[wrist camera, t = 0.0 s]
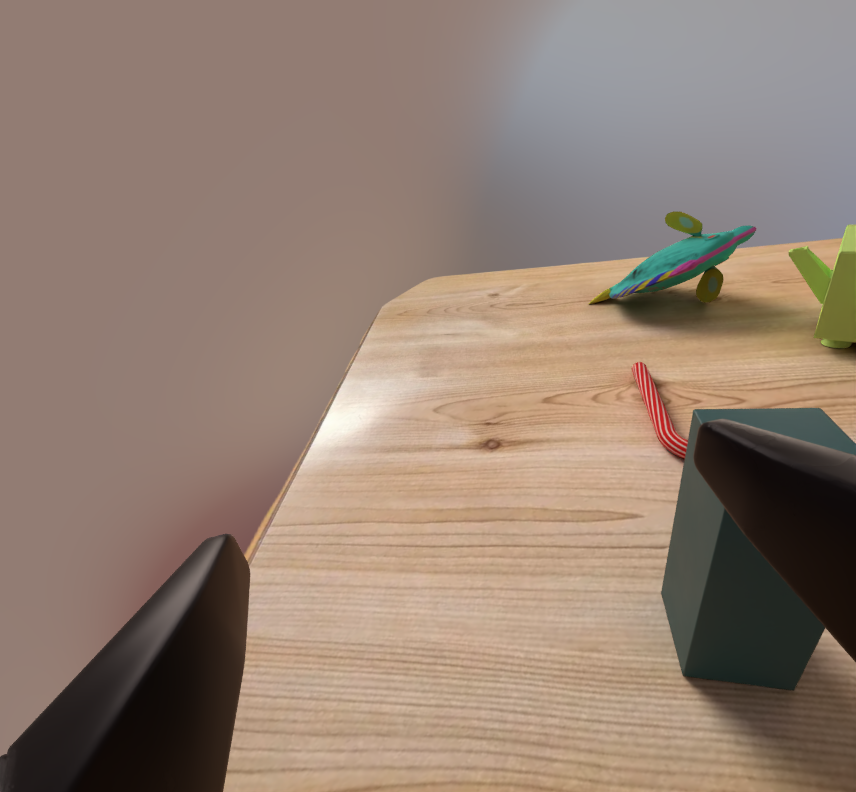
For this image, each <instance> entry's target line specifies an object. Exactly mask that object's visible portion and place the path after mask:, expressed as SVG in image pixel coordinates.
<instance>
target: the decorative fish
mask: <svg viewBox="0 0 856 792" xmlns="http://www.w3.org/2000/svg"><path fill="white" fill-rule="evenodd" d="M665 221H666V224H667V225H668V226H670V227H671V228H673V229H676V230H679V231H682V232H685V233H688V234H691V235H693V236H691V237H689V238H687V239H684V240H682V241H680V242H678V243H675V244H673V245H671V246H669V247H667V248H665V249H663V250H661V251H659V252H657V253H655V254H654V255H652V256H651V257H649V258H648V259H646V260H645V261H644V262H642V263H641V264H640V265H639V266H637V267H636V268H635V269H634V270H633V271H632V272H631V273H630V274H629V275H628V276H627V277H625V278H624V279H623V280H622V281H621V282H620V283H618V284H616V285H615V286H613V287H611V288H609V289H607V290H605V291H604V292H602V293H601V294H599V295H598V296H597V297H595V298H594V299H593V300H592V301H591V302H590V303H589V304H592V303H596V302H600V301H603V300H606V299H609V298H619V297H623V296H627V295H630V294H632V293H645V292H654V291H659V290H663V289H666V288H669V287H672V286H675V285H677V284H680V283H682V282H685V281H687V280H690V279H692V278H694V277H696V276H697V275H699V274H701V273H703V272H704V271H705V272H704V274H703V276H702V278H701V280H700V282H699V284H698V286H697V290H696V295H697V297H698V299H699V300H700V301H702V302H704V303H706V302H711V301H713V300H715V299H716V298H717V296H718V294H719V293H720V290H721V287H722V283H723V274H722V273H721V272H720V271H719V270H718V269H717V268H716V267H715V266H716V265H718V264H720V263H722V262H724V261H725V260H727V259H728V258H729V256H730V255H731V254H732V253H733V252H734V251H735V249H736V247H737V245H739V244H741V243H743V242H745V241H747V240H748V239H750V237H752V236H753V235H754V233H755V231H756V228H755V227H753V226H741V227H738V228H736V229H734V230H733V231H728V232H720V233H714V234H701V231H702V223H701V222H700V221H698V220H697V219H695V218H693V217H692V216H690V215H688V214H685V213H682V212H671V213H668V214H667V215H666V217H665ZM714 265H715V266H714Z"/></svg>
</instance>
